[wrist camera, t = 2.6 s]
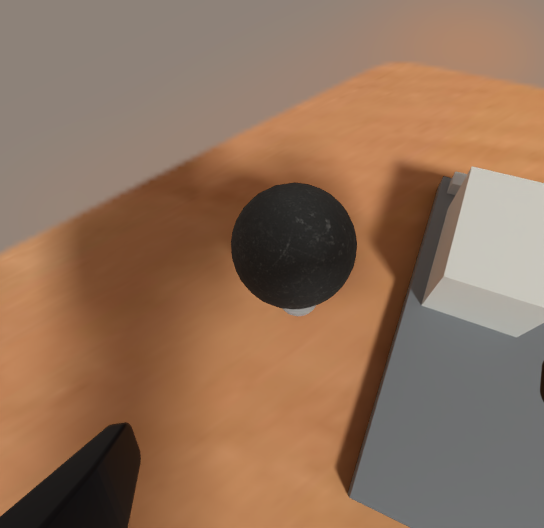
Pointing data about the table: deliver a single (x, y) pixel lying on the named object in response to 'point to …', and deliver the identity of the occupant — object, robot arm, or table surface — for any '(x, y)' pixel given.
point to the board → (465, 368)
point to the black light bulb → (294, 246)
